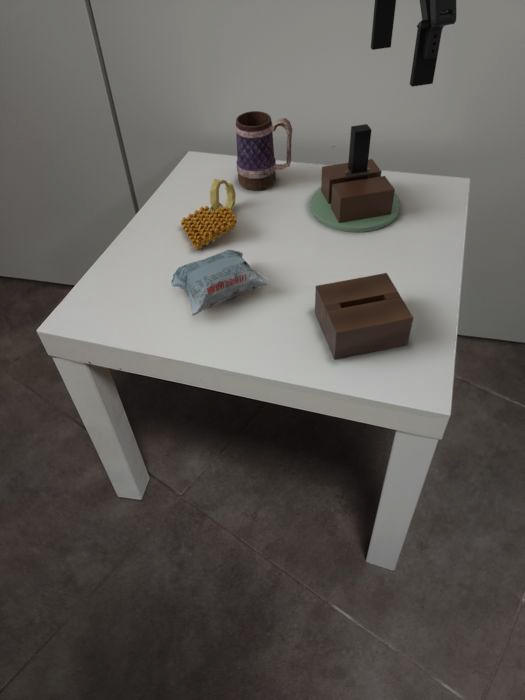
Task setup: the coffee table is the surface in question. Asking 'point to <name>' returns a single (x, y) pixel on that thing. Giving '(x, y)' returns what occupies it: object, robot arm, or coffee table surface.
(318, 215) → the green disc stand
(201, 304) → the packaged food
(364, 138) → the knife
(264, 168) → the mug
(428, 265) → the coffee table surface
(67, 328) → the coffee table surface
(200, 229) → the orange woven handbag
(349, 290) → the knife block
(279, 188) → the coffee table surface
